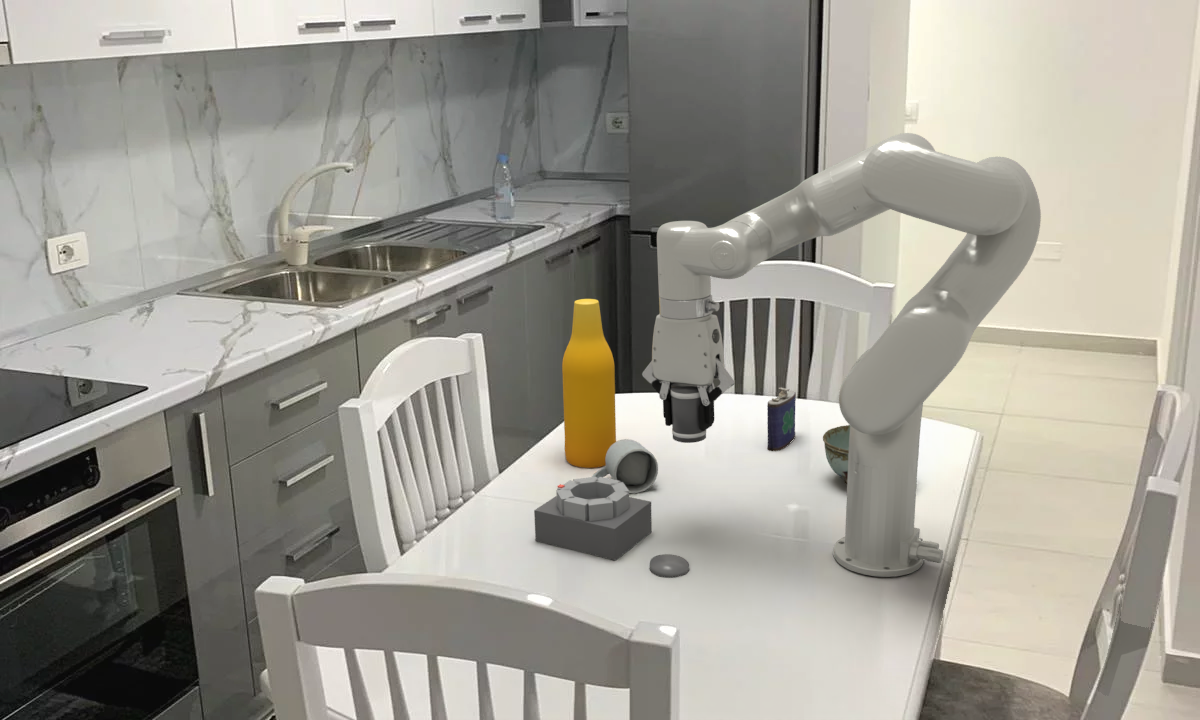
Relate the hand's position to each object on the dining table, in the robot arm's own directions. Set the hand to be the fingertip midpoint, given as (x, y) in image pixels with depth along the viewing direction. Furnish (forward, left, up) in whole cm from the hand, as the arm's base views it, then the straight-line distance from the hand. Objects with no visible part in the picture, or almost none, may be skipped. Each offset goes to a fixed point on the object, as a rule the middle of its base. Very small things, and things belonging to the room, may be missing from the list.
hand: (689, 424), depth 172 cm
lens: (0, 0, -2) cm, 2 cm away
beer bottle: (+29, -18, -17) cm, 38 cm away
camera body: (+12, +9, -17) cm, 23 cm away
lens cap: (-3, +13, -17) cm, 22 cm away
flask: (+2, -41, -17) cm, 44 cm away
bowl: (-17, -30, -17) cm, 39 cm away
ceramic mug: (+17, -10, -17) cm, 27 cm away
